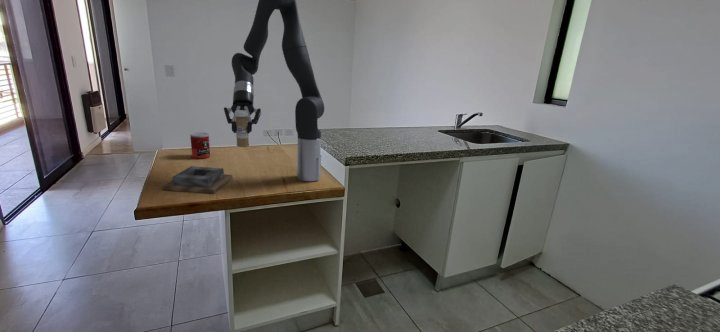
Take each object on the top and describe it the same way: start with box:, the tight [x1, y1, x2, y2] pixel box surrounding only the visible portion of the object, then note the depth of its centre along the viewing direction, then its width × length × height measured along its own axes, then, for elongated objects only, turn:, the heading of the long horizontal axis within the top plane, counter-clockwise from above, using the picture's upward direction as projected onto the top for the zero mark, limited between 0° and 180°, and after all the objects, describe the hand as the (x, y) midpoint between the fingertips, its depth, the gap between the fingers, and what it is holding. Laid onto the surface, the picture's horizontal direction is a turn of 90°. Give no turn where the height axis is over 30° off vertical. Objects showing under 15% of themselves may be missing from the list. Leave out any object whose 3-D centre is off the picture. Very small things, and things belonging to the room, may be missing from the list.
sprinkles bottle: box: [235, 110, 250, 148], centre depth 125 cm, size 5×5×14 cm
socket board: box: [162, 165, 234, 194], centre depth 124 cm, size 18×16×4 cm
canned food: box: [189, 131, 211, 160], centre depth 155 cm, size 8×8×11 cm
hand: (241, 131), depth 124 cm, fingers closed on sprinkles bottle, 4 cm apart
